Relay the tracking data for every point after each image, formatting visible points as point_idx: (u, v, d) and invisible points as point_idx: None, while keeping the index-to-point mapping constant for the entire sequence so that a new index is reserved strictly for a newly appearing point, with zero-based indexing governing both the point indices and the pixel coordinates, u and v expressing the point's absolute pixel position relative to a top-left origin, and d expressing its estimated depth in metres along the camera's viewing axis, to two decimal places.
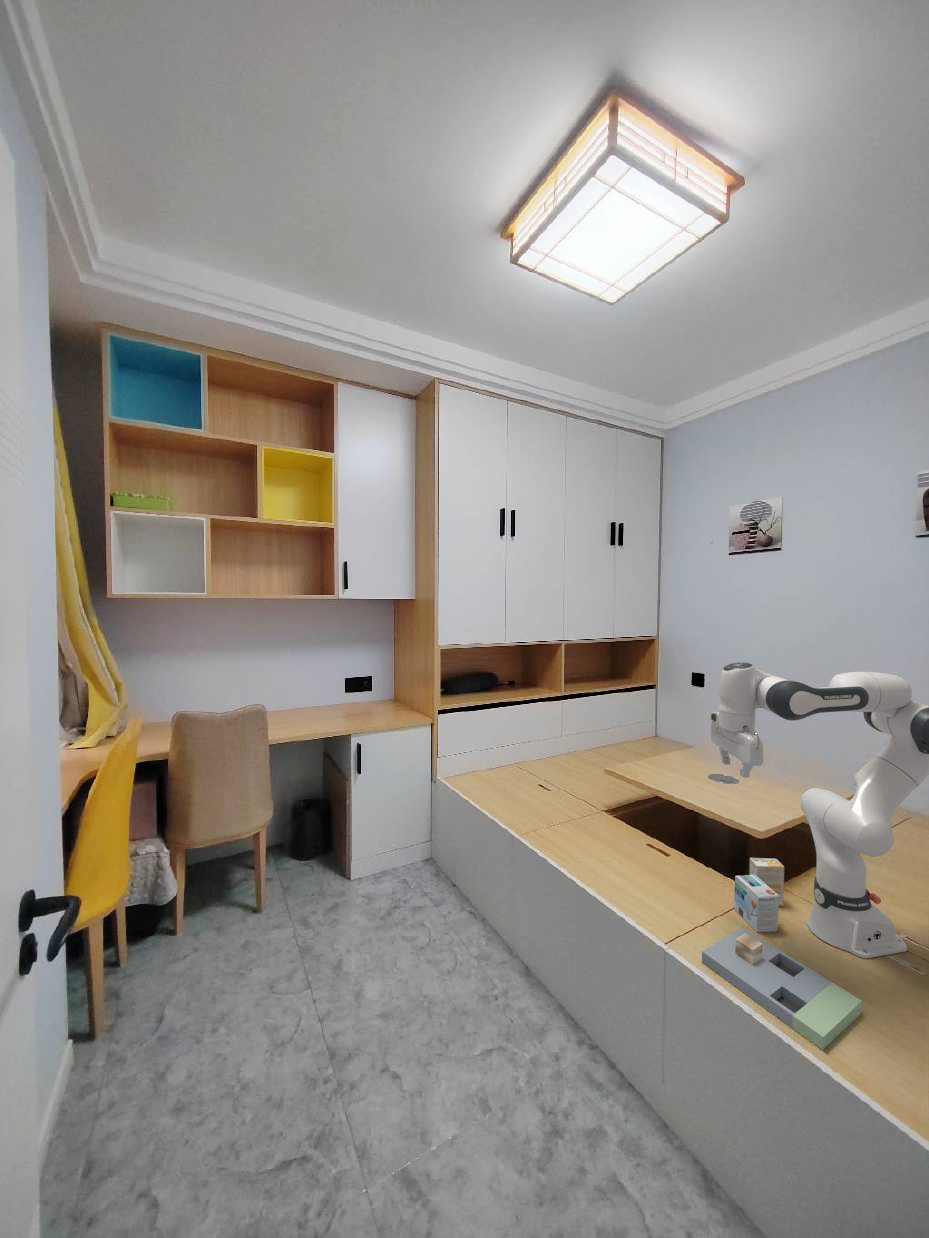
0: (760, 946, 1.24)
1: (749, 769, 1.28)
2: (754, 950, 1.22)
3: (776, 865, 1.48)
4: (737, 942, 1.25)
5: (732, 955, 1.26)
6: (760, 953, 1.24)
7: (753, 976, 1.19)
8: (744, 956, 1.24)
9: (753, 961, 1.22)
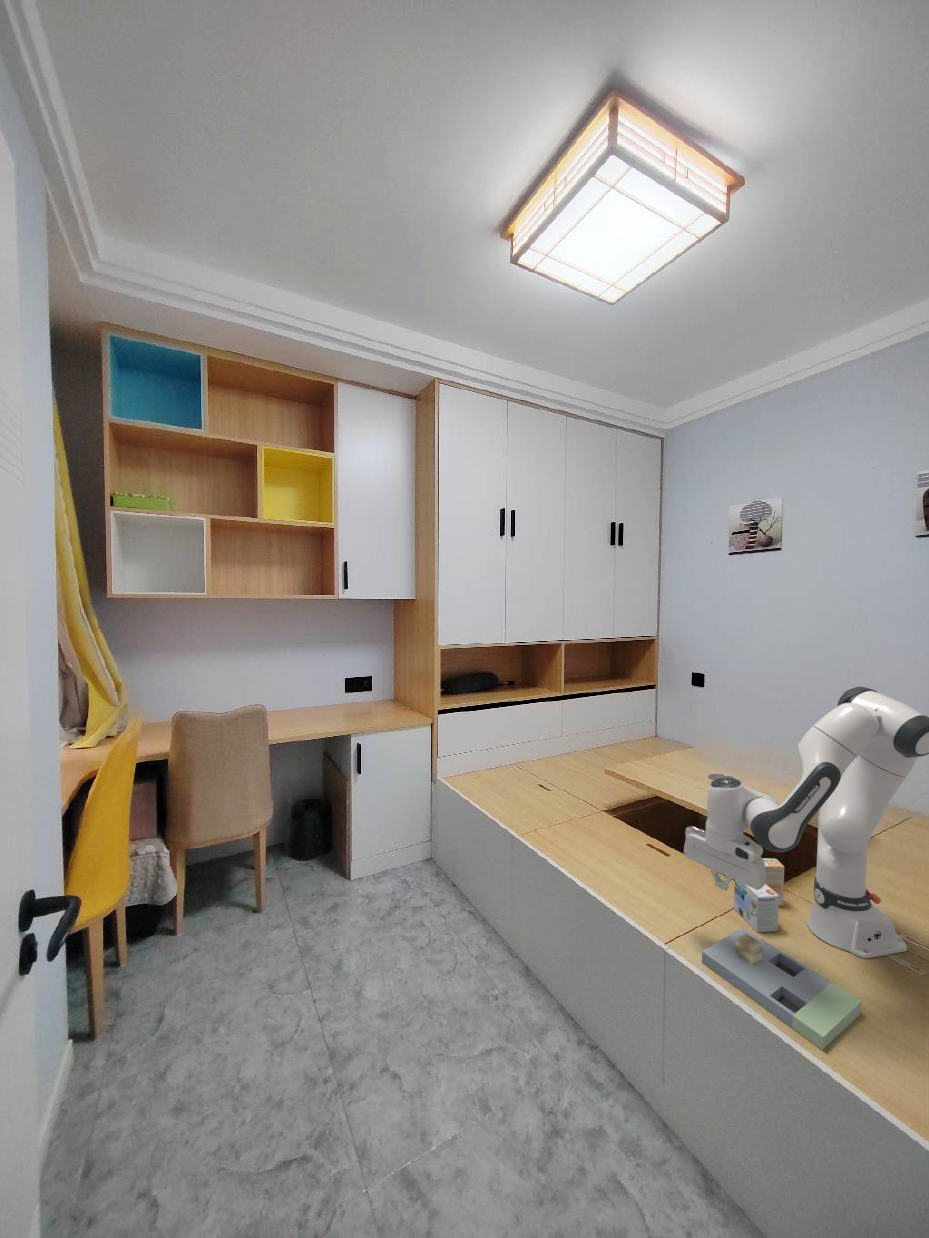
0: (760, 946, 1.24)
1: None
2: (754, 950, 1.22)
3: (776, 865, 1.48)
4: (737, 942, 1.25)
5: (732, 955, 1.26)
6: (760, 953, 1.24)
7: (753, 976, 1.19)
8: (744, 956, 1.24)
9: (753, 961, 1.22)
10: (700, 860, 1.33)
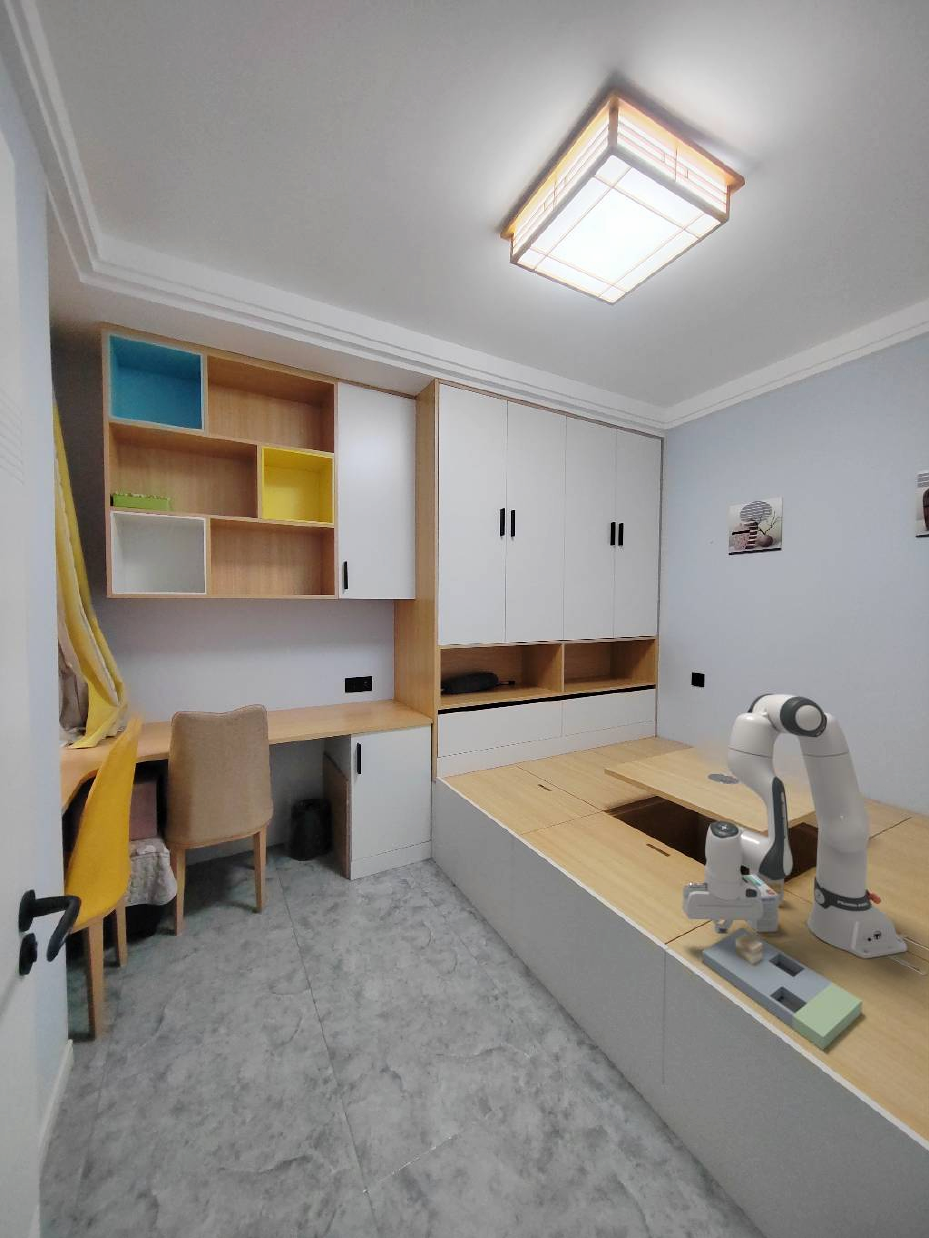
0: (760, 946, 1.24)
1: (715, 924, 1.31)
2: (754, 950, 1.22)
3: None
4: (737, 942, 1.25)
5: (732, 955, 1.26)
6: (760, 953, 1.24)
7: (753, 976, 1.19)
8: (744, 956, 1.24)
9: (753, 961, 1.22)
10: (705, 915, 1.30)
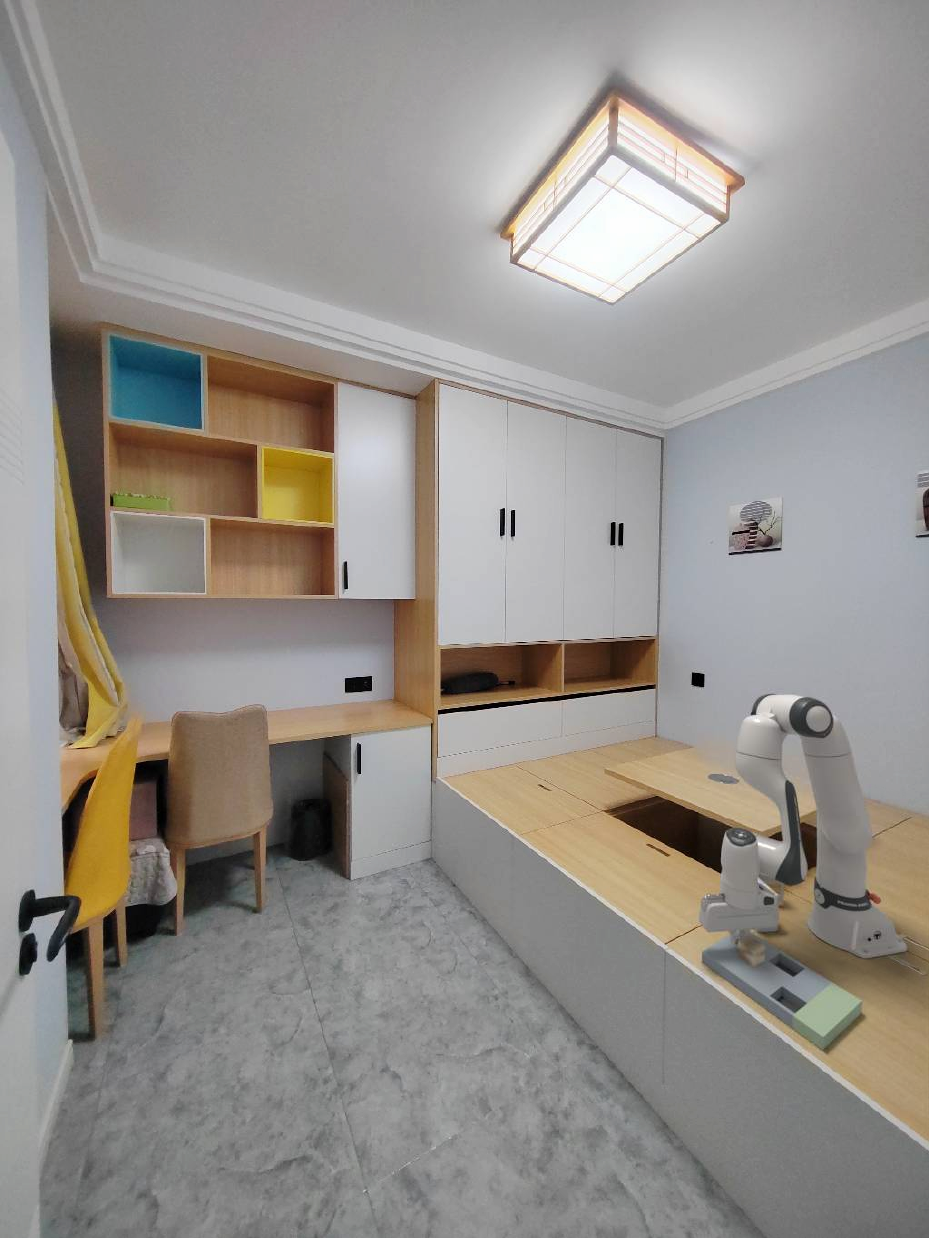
0: (763, 948, 1.23)
1: (732, 935, 1.27)
2: (756, 952, 1.22)
3: None
4: (739, 943, 1.25)
5: (732, 955, 1.26)
6: (762, 955, 1.23)
7: (753, 976, 1.19)
8: (746, 958, 1.23)
9: (755, 963, 1.22)
10: (724, 927, 1.25)
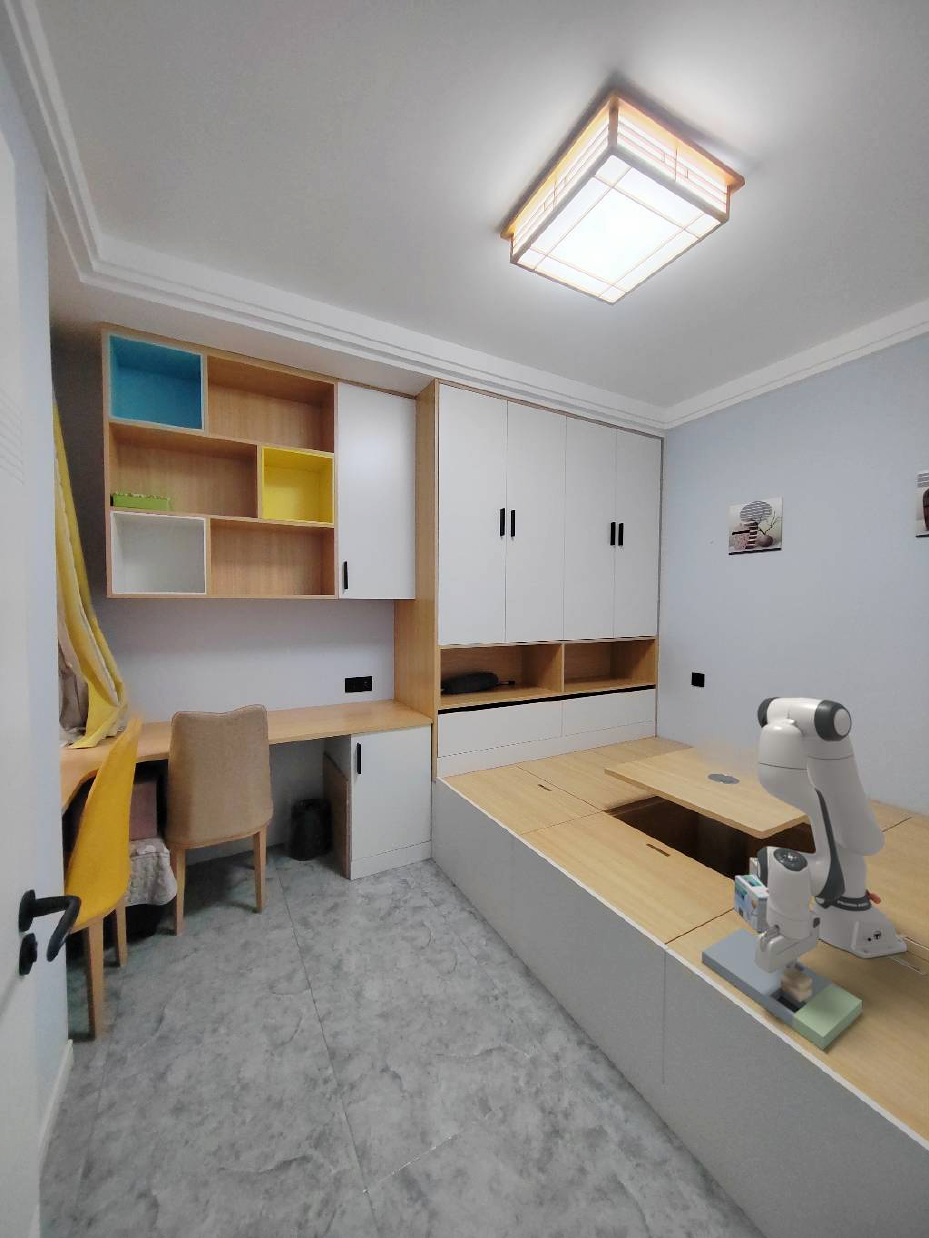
0: (810, 982, 1.12)
1: (783, 968, 1.16)
2: (802, 986, 1.11)
3: None
4: (783, 976, 1.14)
5: (732, 955, 1.26)
6: (809, 989, 1.12)
7: (753, 976, 1.19)
8: (790, 992, 1.13)
9: (801, 998, 1.11)
10: (781, 963, 1.13)
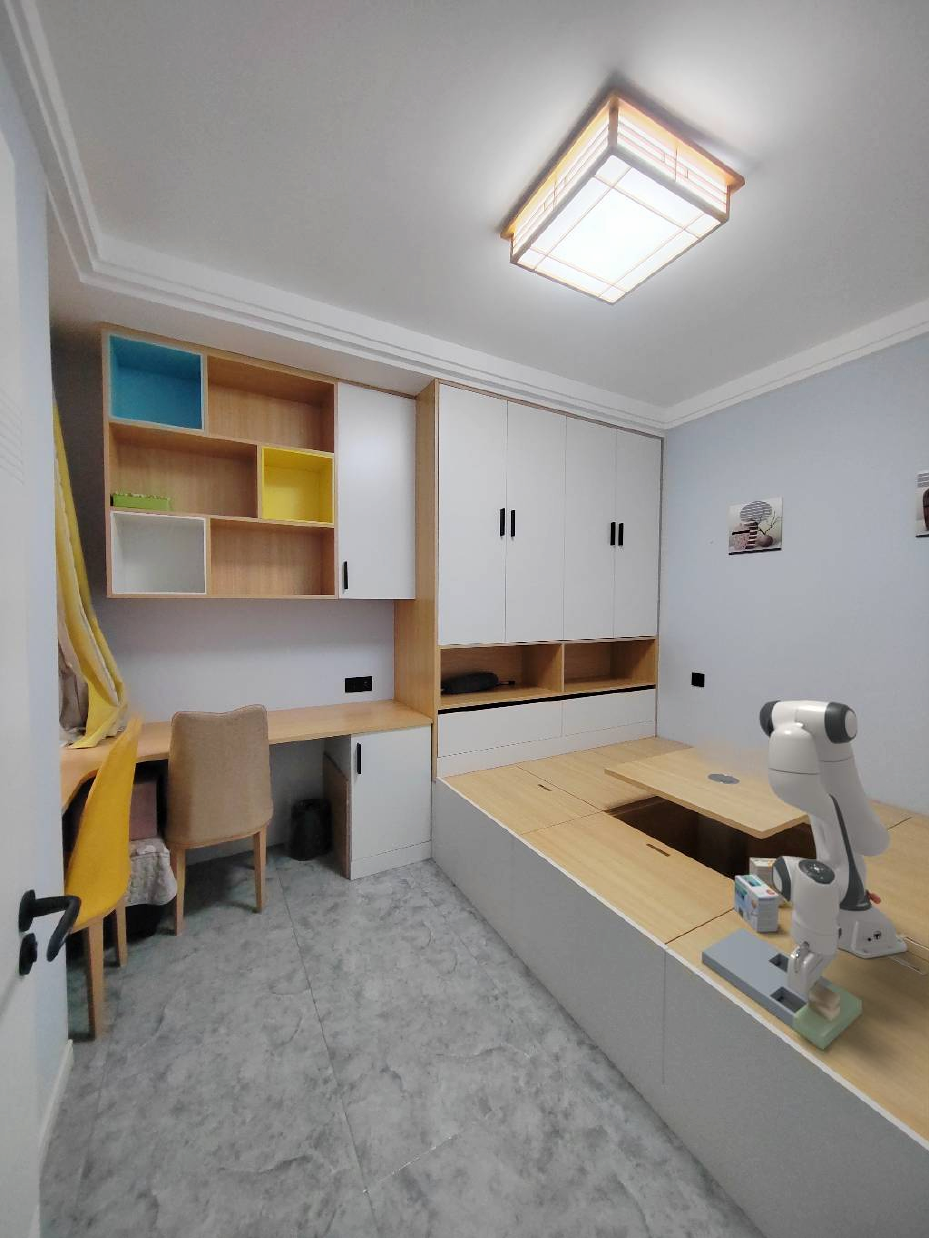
0: (838, 999, 1.08)
1: None
2: (833, 1005, 1.06)
3: None
4: (811, 995, 1.09)
5: (732, 955, 1.26)
6: (838, 1007, 1.08)
7: (753, 976, 1.19)
8: (820, 1012, 1.08)
9: (832, 1018, 1.06)
10: (813, 982, 1.08)
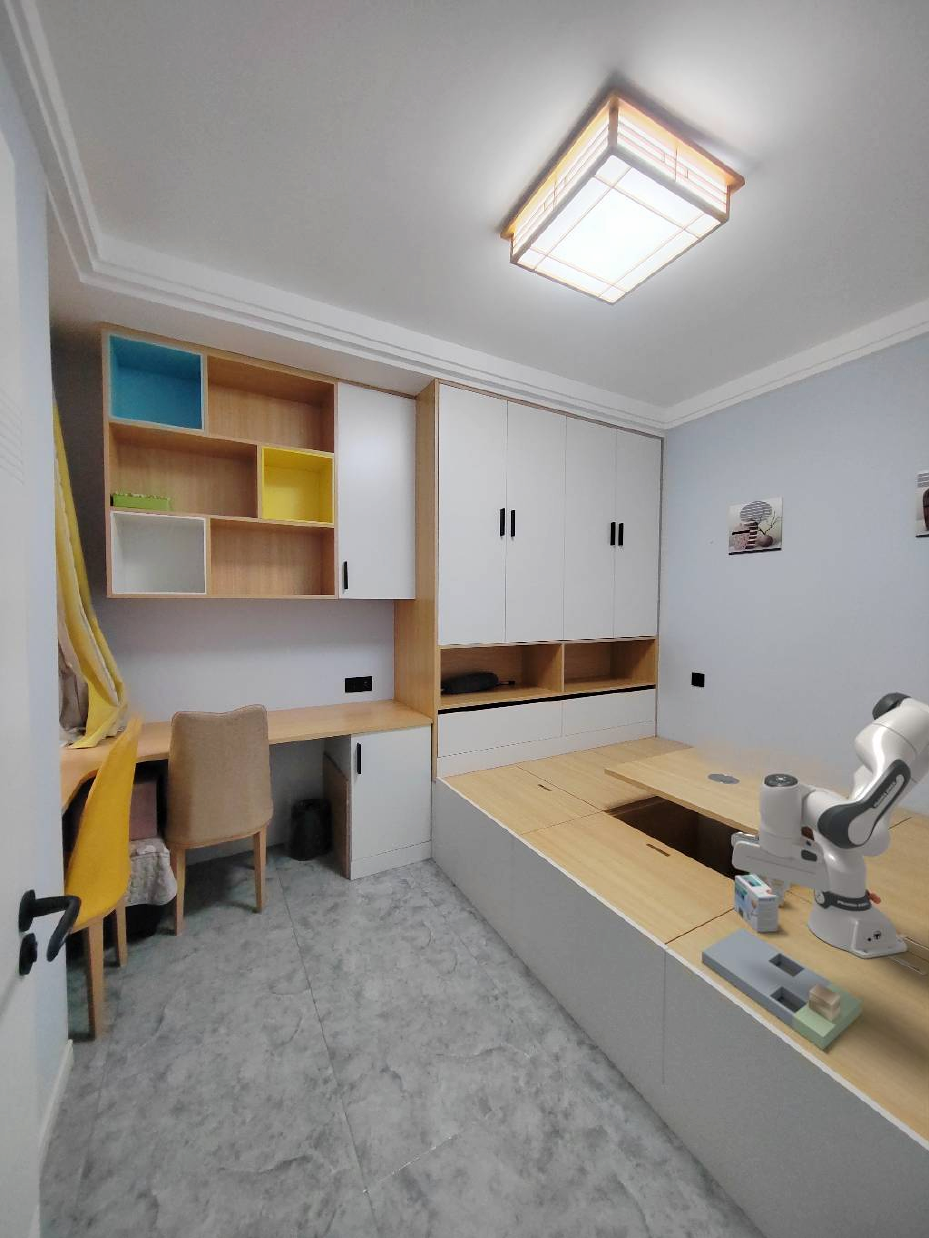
0: (839, 999, 1.08)
1: None
2: (833, 1005, 1.06)
3: None
4: (811, 995, 1.09)
5: (732, 955, 1.26)
6: (838, 1007, 1.08)
7: (753, 976, 1.19)
8: (820, 1012, 1.08)
9: (832, 1018, 1.06)
10: (754, 869, 1.21)
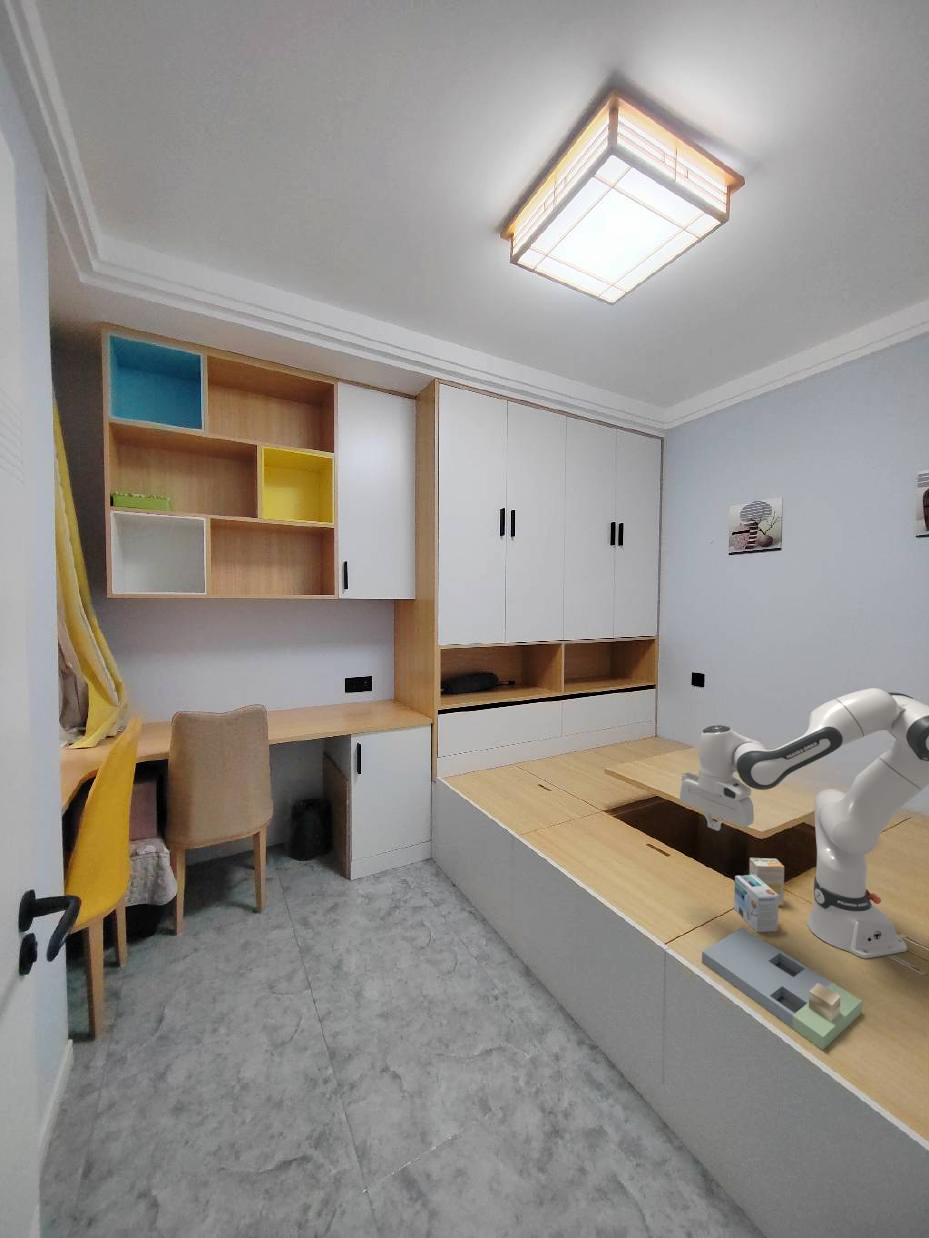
0: (839, 999, 1.08)
1: None
2: (833, 1005, 1.06)
3: (776, 865, 1.48)
4: (811, 995, 1.09)
5: (732, 955, 1.26)
6: (838, 1007, 1.08)
7: (753, 976, 1.19)
8: (820, 1012, 1.08)
9: (832, 1018, 1.06)
10: (694, 803, 1.42)
